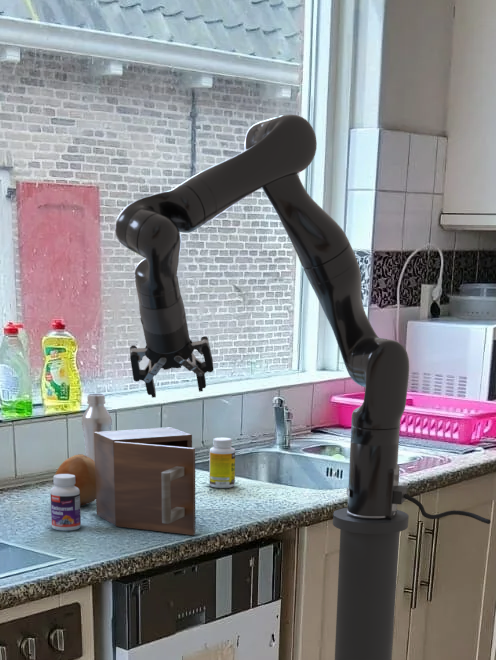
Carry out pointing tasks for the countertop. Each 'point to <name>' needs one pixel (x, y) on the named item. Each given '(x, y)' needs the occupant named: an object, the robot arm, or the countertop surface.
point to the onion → (81, 476)
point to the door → (155, 487)
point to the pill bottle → (65, 503)
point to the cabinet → (106, 460)
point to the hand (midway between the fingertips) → (177, 391)
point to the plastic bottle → (95, 421)
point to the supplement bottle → (222, 463)
